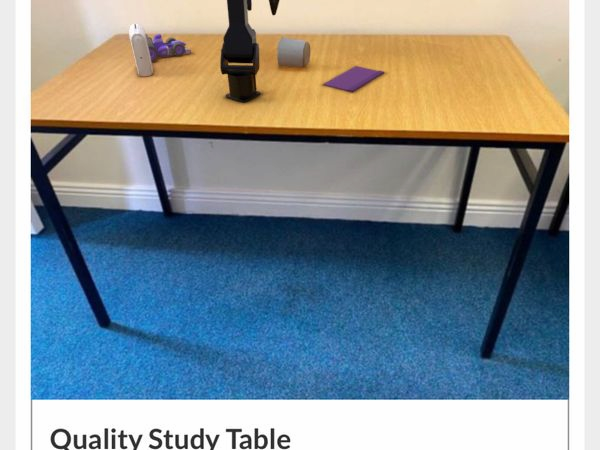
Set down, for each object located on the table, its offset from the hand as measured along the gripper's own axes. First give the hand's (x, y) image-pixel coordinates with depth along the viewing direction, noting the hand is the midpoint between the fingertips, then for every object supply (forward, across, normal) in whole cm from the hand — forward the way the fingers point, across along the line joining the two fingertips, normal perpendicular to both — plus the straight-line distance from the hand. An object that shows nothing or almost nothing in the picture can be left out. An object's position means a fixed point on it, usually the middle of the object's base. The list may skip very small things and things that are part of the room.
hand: (261, 12), depth 134 cm
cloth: (+12, -32, 0) cm, 34 cm away
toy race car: (+13, +27, +16) cm, 34 cm away
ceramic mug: (+13, -12, 0) cm, 17 cm away
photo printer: (+13, +21, +28) cm, 37 cm away
